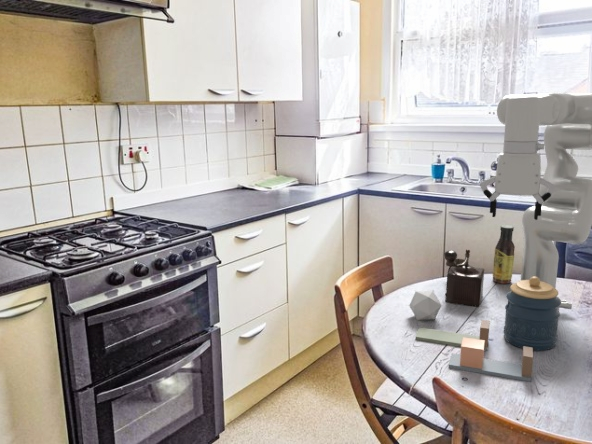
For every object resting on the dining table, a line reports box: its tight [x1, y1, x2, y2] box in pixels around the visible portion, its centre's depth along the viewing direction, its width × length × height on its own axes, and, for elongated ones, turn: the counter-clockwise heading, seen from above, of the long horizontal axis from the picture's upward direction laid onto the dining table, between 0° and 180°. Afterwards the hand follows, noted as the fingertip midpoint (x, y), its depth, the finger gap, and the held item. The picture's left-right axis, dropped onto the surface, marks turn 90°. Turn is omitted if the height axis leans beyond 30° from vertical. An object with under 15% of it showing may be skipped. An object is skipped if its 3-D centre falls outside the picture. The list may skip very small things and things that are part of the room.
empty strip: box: [415, 319, 491, 351], centre depth 137 cm, size 18×6×6 cm, turn 67°
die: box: [408, 290, 442, 321], centre depth 151 cm, size 8×9×10 cm
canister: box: [503, 276, 562, 351], centre depth 135 cm, size 13×13×18 cm
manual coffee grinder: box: [443, 249, 485, 308], centre depth 161 cm, size 16×11×18 cm
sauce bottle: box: [492, 224, 516, 285], centre depth 177 cm, size 7×6×20 cm
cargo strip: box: [448, 346, 534, 382], centre depth 123 cm, size 18×6×6 cm, turn 67°
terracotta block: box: [460, 337, 485, 369], centre depth 124 cm, size 5×5×5 cm
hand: (514, 217), depth 130 cm, fingers open, 9 cm apart
